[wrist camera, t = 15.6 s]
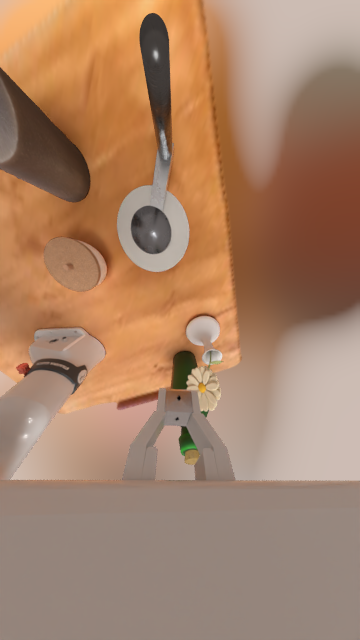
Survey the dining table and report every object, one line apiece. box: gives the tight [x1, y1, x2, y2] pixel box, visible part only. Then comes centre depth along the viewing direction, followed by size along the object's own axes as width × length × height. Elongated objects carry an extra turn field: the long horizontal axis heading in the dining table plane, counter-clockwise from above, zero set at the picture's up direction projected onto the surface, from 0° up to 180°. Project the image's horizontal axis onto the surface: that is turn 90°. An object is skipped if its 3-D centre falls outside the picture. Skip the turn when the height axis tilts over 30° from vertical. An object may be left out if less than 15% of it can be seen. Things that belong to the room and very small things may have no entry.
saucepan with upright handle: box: [131, 13, 174, 254], centre depth 20 cm, size 17×8×14 cm, turn 164°
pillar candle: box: [0, 68, 90, 202], centre depth 19 cm, size 10×10×15 cm
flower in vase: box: [186, 316, 223, 412], centre depth 33 cm, size 13×11×25 cm
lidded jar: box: [44, 237, 107, 292], centre depth 30 cm, size 11×11×9 cm
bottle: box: [171, 351, 209, 465], centre depth 38 cm, size 11×11×28 cm
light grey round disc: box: [117, 185, 189, 272], centre depth 30 cm, size 16×16×3 cm
